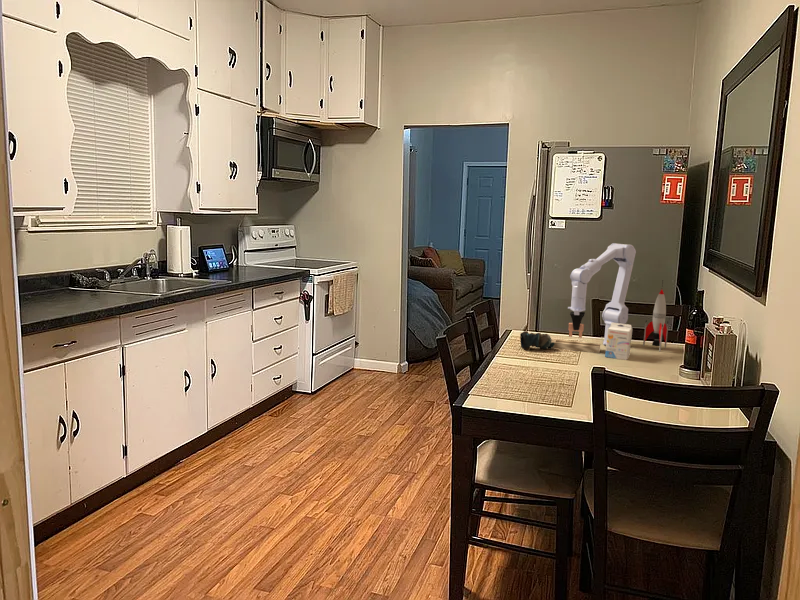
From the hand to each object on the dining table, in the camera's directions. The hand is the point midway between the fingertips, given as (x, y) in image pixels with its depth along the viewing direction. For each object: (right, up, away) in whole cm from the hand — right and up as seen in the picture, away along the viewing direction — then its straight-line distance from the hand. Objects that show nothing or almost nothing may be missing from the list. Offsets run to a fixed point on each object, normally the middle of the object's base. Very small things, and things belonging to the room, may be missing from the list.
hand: (576, 329), depth 257 cm
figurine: (-17, -8, -2) cm, 19 cm away
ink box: (+14, -11, -10) cm, 20 cm away
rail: (0, -8, +1) cm, 8 cm away
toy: (+36, -9, +6) cm, 38 cm away
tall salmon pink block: (0, -3, +1) cm, 3 cm away
